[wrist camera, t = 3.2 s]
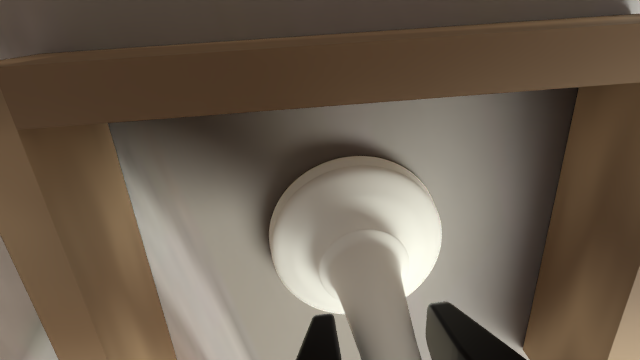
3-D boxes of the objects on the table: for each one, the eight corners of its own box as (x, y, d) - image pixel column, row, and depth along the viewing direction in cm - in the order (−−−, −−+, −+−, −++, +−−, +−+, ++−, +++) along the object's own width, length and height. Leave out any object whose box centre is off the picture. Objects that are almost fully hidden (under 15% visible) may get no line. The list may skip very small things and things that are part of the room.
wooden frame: (549, 346, 14) (615, 429, 11) (155, 389, 13) (119, 490, 10) (633, 14, 9) (780, 13, 6) (40, 53, 9) (-76, 71, 6)
